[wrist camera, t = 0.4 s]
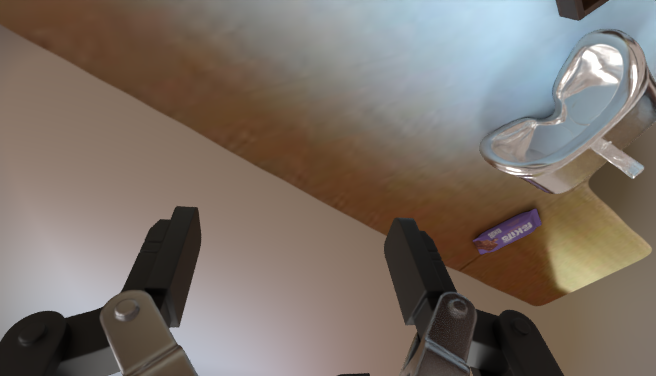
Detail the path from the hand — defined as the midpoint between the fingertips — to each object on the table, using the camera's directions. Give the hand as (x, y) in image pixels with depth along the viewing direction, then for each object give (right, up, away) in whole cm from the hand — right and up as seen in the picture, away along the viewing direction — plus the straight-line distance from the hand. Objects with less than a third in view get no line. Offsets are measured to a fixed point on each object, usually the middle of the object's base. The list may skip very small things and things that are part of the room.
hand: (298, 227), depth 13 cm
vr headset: (+30, +13, +30) cm, 45 cm away
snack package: (+33, -6, +45) cm, 56 cm away
